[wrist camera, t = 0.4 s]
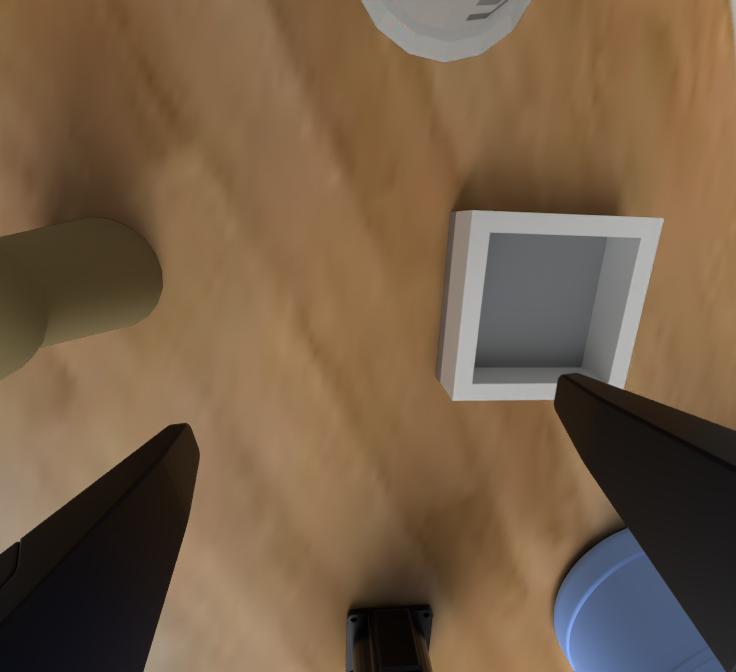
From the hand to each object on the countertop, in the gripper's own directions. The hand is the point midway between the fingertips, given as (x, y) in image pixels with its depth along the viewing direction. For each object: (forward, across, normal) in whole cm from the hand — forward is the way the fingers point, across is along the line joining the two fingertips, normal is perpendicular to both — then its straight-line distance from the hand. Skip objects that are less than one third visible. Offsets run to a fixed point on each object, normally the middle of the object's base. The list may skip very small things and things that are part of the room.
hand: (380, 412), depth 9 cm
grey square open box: (+14, -10, +4) cm, 18 cm away
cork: (+15, +13, 0) cm, 20 cm away
